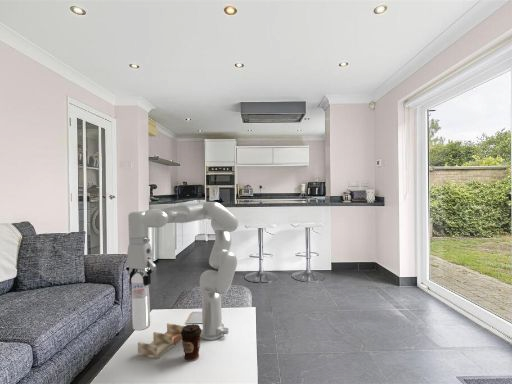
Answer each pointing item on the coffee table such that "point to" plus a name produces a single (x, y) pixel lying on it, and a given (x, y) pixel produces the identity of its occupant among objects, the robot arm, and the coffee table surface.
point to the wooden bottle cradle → (161, 342)
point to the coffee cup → (191, 341)
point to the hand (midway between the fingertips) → (140, 283)
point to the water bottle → (140, 302)
